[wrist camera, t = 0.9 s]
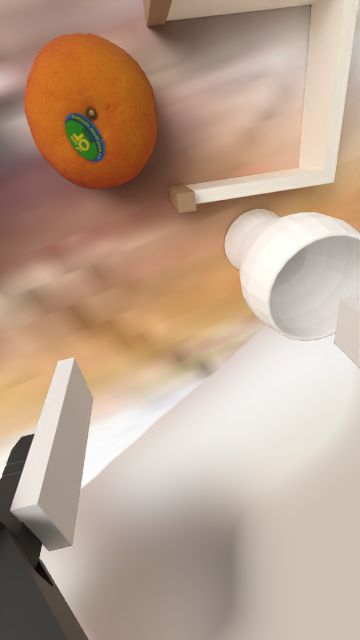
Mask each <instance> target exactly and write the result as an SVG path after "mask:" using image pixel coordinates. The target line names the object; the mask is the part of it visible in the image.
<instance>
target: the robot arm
mask: <svg viewBox="0 0 360 640" xmlns="http://www.w3.org/2000/svg"><path fill="white" fill-rule="evenodd" d="M334 344H335V345H336V346H338V347H339V348H340V349H341V350H342V351H343V352H344V353H345V354H346V355H347V356H348V357H349V358H350V359H351V360H352V361H353V362H354V363H355V364H356V365H357V366H358V367H359V368H360V298H359V297H357V296H356V295H353V296H349V297H344V298H340V304H339V311H338V318H337V325H336V332H335V339H334ZM92 403H93V396H92V394H91V392H90V390H89V388H88V385H87V383H86V381H85V379H84V377H83V375H82V372H81V370H80V368H79V366H78V364H77V362H76V359H75V357H74V358H69V359H65V360H60V361H58V364H57V367H56V370H55V373H54V376H53V379H52V382H51V385H50V389H49V392H48V395H47V398H46V401H45V404H44V407H43V410H42V413H41V416H40V419H39V422H38V426H37V429H36V432H35V434H32V435H27V436H23V437H21V438H20V440H19V441H18V442H17V444H16V445H15V446H14V448H13V449H12V450H11V453H10V456H9V458H8V461H7V463H6V464H7V466H5V469H4V471H3V474H2V478H1V479H0V640H88V638H87V636H86V635H85V633H84V631H83V629H82V628H81V626H80V625H79V623H78V621H77V619H76V618H75V616H74V614H73V612H72V611H71V609H70V607H69V606H68V604H67V602H66V601H65V599H64V597H63V596H62V594H61V593H60V591H59V589H58V587H57V585H56V584H55V582H54V580H53V579H52V577H51V575H50V574H49V572H48V570H47V568H46V567H45V565H44V564H43V562H42V561H41V560H40V559H39V557H40V552H41V547H42V544H43V545H44V546H45V547H46V549H47V550H49V551H52V550H57V549H61V548H65V547H69V546H72V544H73V537H74V529H75V522H76V516H77V509H78V502H79V494H80V488H81V480H82V473H83V466H84V459H85V452H86V445H87V438H88V431H89V424H90V417H91V410H92Z"/></svg>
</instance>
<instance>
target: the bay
mask: <svg viewBox="0 0 360 640" xmlns="http://www.w3.org/2000/svg"><path fill="white" fill-rule="evenodd" d="M358 4H359V0H144V8H145V16H146V23H147V26H155V25H164V24H166V21H171V20H180V19H188V18H197V17H206V16H215V15H224V14H233V13H241V12H250V11H259V10H268V9H277V8H285V7H294V6H303V5H311V17H310V30H309V42H308V55H307V68H306V81H305V93H304V106H303V119H302V132H301V144H300V157H299V168H295V169H288V170H282V171H275V172H269V173H262V174H255V175H249V176H242V177H236V178H229V179H222V180H216V181H209V182H203V183H196V184H190V185H184V184H176V185H169V186H168V192H169V199H170V202H171V204H172V205H173V206H174V207H175V209H176V210H177V211H178V213H184V212H190V211H196V204H199V203H206V202H212V201H218V200H225V199H231V198H238V197H244V196H250V195H257V194H263V193H270V192H276V191H282V190H289V189H295V188H301V187H308V186H314V185H321V184H327V183H333V182H334V179H335V171H336V164H337V157H338V150H339V142H340V135H341V128H342V120H343V113H344V106H345V98H346V91H347V84H348V77H349V69H350V62H351V55H352V47H353V40H354V33H355V26H356V18H357V11H358Z"/></svg>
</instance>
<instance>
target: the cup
mask: <svg viewBox="0 0 360 640" xmlns="http://www.w3.org/2000/svg"><path fill="white" fill-rule="evenodd" d="M224 248H225V253H226V256H227V258H228V260H229V262H230V263H231V264H232V265H233V266H234V267H235V268H237V269H238V270H240V272H239V273H240V280H241V287H242V293H243V296H244V298H245V300H246V302H247V304H248V306H249V307H250V308H251V310H252V311H253V312H254V314H255V315H256V316H257V317H258V318H259V319H260V320H261V321H262V322H263V323H264V324H265V325H267V326H268V327H270V328H272V329H273V330H275V331H276V332H278V333H280V334H282V335H284V336H286V337H288V338H290V339H295V340H301V341H308V340H318V339H321V338H324V337H327V336H330V335H332V334H334V333H335V332H336V325H337V318H338V311H339V304H340V298H344V297H349V296H353V295H356V296H357V297H359V298H360V233H359V232H358V231H356V230H355V229H354V228H353V227H351V226H350V225H349V224H347V223H346V222H345V221H342V220H339V219H336V218H333V217H330V216H327V215H323V214H320V213H316V212H310V213H297V214H292V215H287V216H284V217H281V218H280V217H279V216H278V215H276V214H275V213H273V212H272V211H270V210H266V209H253V210H250V211H247V212H245V213H244V214H242V215H240V216H239V217H238V218H237V219H236V220H235V221H234V222H233V223H232V225H231V226H230V228H229V229H228V232H227V235H226V238H225V246H224Z"/></svg>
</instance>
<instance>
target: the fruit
mask: <svg viewBox="0 0 360 640" xmlns="http://www.w3.org/2000/svg"><path fill="white" fill-rule="evenodd" d="M24 107H25V113H26V117H27V121H28V124H29V127H30V131H31V134H32V137H33V139H34V141H35V144H36V146H37V148H38V150H39V151H40V153H41V154H42V156H43V157H44V159H45V160H46V161H47V162H48V163H49V164H50V165H51V166H52V167H53V168H54V169H55V170H56V171H57V172H58V173H59V174H60V175H61V176H63V177H64V178H65V179H67V180H68V181H70V182H72V183H74V184H76V185H78V186H81V187H86V188H90V189H102V188H109V187H116V186H119V185H122V184H124V183H126V182H128V181H130V180H132V179H133V178H134V177H135V176H137V175H138V174H139V173H140V172H141V170H142V169H143V167H144V166H145V164H146V163H147V161H148V160H149V158H150V156H151V154H152V152H153V149H154V147H155V142H156V138H157V114H156V106H155V99H154V94H153V89H152V86H151V84H150V82H149V80H148V78H147V77H146V75H145V73H144V72H143V70H142V69H141V67H140V66H139V64H138V63H137V62H136V61H135V60H134V59H133V58H132V57H131V56H130V55H129V54H128V53H126V52H125V51H124V50H123V49H121V48H120V47H118V46H117V45H115V44H113V43H112V42H110V41H108V40H106V39H104V38H101V37H99V36H96V35H93V34H72V35H63V36H60V37H58V38H56V39H54V40H53V41H51V42H49V43H48V44H46V45H45V47H44V48H43V49H42V50H41V51H40V52H39V54H38V55H37V57H36V58H35V61H34V64H33V67H32V69H31V71H30V74H29V77H28V80H27V86H26V92H25V97H24Z"/></svg>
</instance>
